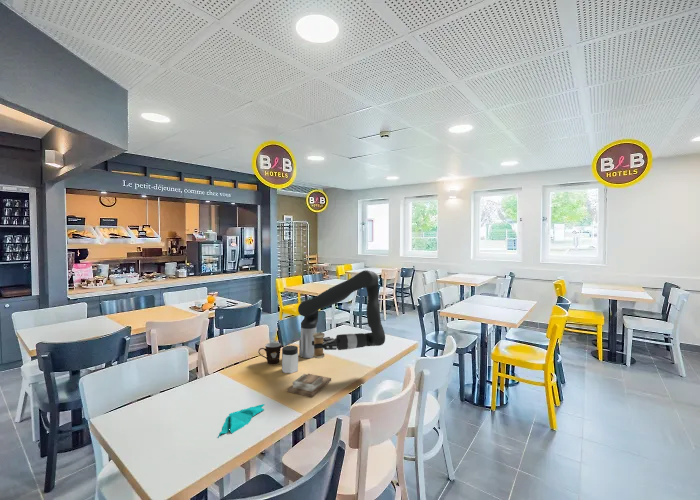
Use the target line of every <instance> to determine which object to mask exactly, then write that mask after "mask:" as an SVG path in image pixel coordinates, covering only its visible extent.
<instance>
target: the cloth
mask: <svg viewBox="0 0 700 500" xmlns="http://www.w3.org/2000/svg"><path fill="white" fill-rule="evenodd" d="M264 406H266V404H265V403H262V404H258V405H255V406H250V407H247V408H244V409H240V410H238V411H233V412H231V413H229V414H228V416H226V419H225V421H224V422H223V425H222V427H221V431H220V432H219V434H218V436H217V438H218V439H219V438H220V437H221V435H222V434H223V435H224V434H228V433H231V434H234V433H235V432H237V431H239V430H240V429H242V428H244V427H245V426H247V425H249V423H250V422H251V421H252V418H253V417H255V416H256V415H257V414H259V413H261V412H263V411H265V409H264V408H263V407H264ZM229 429H230V430H229Z"/></svg>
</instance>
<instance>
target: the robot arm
mask: <svg viewBox="0 0 700 500" xmlns="http://www.w3.org/2000/svg"><path fill="white" fill-rule="evenodd" d="M364 288H365V289H366V292H367V303H366V319H367V326H368V327H370V330H371V332H365V333H364V332H363V333H362V332H360V333H343V334H342V333H341V334H337V335H336V337H335V338H333V337H330V336H326V337H325V336H324V337H323V343H319V344H314V337H313V334H314V333H317V329H318V328H317V324H318V322H319V310H321V309H323V308H326V307H330V306H333V305H335V304H338V303H341V302H342V301H344V300H346V299H347V298H349V296H350V295H352V294H353V293H354V292H356V291H358V290H361V289H364ZM297 307H298V308H297V312H298V314H299V315H300V316H302V317H303V320H302V321H301V322H300V339H299V341H298V343H299V344H298V345H299V346H298V357H301V358H304V359H313V358H314V357H313V354H314V349H319V348H322V349H323V351H329V350H331V351H334V350H335V351H336V350H338V351H344V350H346V351H347V350H352V349H360V348H364V347H379V346H383V345H384V344H385V342H386V334H385V329H384V327H383V324H382V320H381V319H382V318H381V312H380V305H379V276H378V274H377V273H376V272H374V271H371V270H368V269H367V270H366V269H365V270H362V271H360V272H358V273H357V274H355V275H353V276H352V277H351V278H349V279H347V280H345V281H342V282H340V283H338V284H336V285H334V286H332V287H329V288H328V289H326V290H324V291H323V292H321V293H320V294H318V295H316V296H315V297H311V298H310V299H306V300H304V301H302V302H300V304H299V305H298V306H297Z"/></svg>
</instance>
